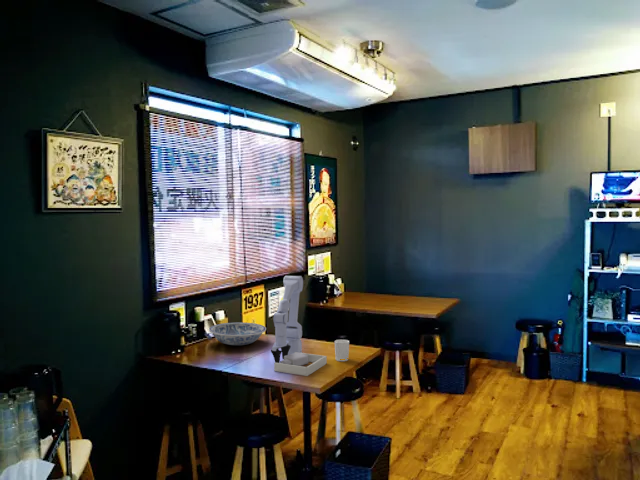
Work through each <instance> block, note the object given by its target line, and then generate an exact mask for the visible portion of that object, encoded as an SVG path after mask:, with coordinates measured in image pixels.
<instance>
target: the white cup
mask: <svg viewBox="0 0 640 480" xmlns="http://www.w3.org/2000/svg"><path fill="white" fill-rule="evenodd" d="M334 353H335V357H334V358H335V361H337V362H347V361H349V353H350V340H348V339H336V340H334ZM347 358H348V359H347ZM340 359H345V360H340Z"/></svg>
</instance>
